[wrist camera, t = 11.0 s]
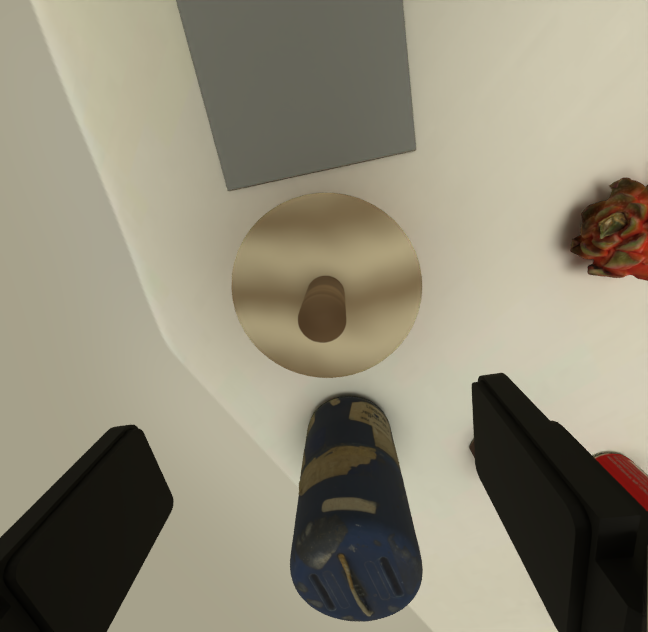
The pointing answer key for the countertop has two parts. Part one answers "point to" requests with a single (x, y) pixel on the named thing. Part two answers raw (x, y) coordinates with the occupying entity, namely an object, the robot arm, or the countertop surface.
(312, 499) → the canister
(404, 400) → the countertop surface
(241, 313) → the lid
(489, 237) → the countertop surface
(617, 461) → the soda can
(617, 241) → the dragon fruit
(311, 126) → the mat
